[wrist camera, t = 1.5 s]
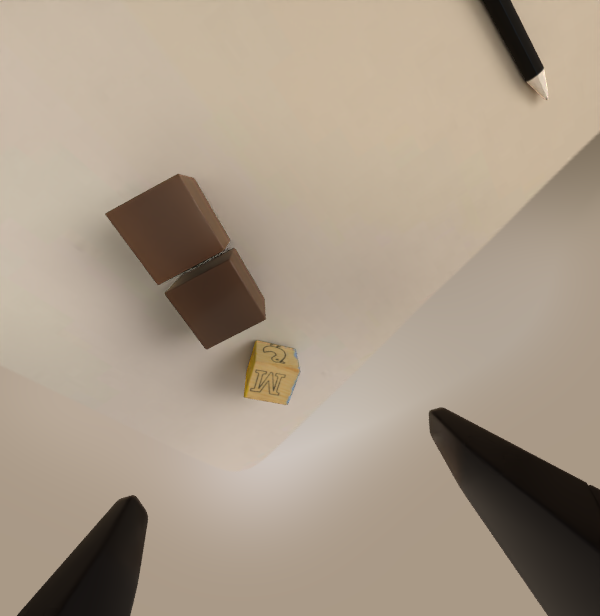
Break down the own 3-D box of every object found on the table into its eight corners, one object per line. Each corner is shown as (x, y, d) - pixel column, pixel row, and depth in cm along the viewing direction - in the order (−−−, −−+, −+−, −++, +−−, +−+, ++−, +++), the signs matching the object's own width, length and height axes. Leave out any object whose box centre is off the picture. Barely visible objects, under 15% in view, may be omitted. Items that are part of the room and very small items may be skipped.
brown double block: (214, 325, 20) (205, 350, 17) (134, 210, 17) (104, 213, 13) (265, 299, 20) (266, 319, 17) (193, 177, 16) (178, 173, 13)
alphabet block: (284, 380, 22) (288, 407, 20) (244, 373, 22) (243, 400, 19) (296, 347, 21) (301, 370, 19) (255, 338, 21) (255, 360, 18)
